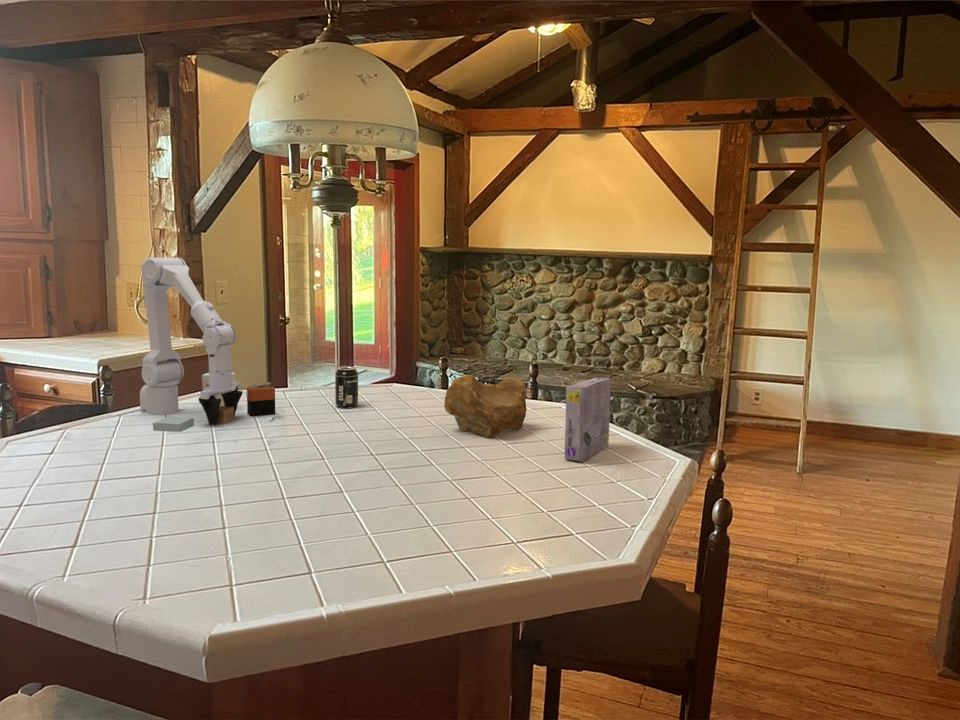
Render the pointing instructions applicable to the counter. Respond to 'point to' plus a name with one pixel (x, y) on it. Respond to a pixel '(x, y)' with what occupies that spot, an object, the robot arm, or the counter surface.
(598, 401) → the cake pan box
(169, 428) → the gray slab
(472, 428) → the rough brown rock
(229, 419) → the walnut block
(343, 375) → the beverage can
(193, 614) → the counter surface
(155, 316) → the robot arm
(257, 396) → the battery
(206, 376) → the small box
